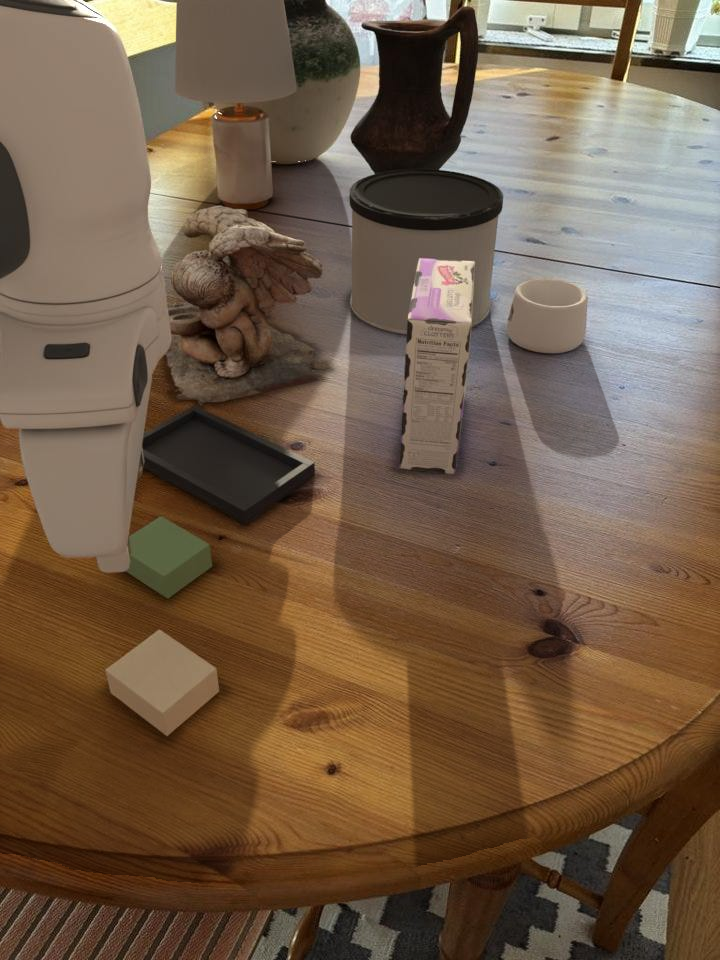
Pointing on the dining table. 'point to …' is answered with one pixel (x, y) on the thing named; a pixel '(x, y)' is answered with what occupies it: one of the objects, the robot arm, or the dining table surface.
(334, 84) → the vase
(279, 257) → the cherub figurine
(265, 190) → the lamp
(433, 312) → the candy box
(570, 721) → the dining table surface
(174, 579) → the sage pad
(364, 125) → the jug
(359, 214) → the container
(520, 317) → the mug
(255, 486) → the dark serving tray
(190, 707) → the cream pad
